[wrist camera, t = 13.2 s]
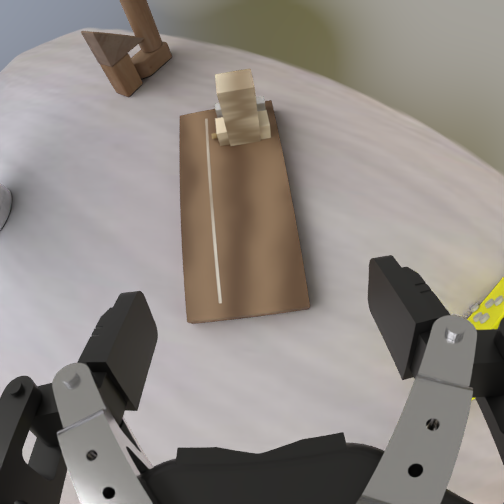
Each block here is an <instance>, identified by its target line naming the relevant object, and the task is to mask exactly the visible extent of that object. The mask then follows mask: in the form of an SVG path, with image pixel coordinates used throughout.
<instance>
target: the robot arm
mask: <svg viewBox="0 0 504 504" xmlns="http://www.w3.org/2000/svg"><path fill="white" fill-rule="evenodd" d="M11 202H12V196H11V193H10V191H9V190H8V189H7V188H6V187H5V186H3V185H2V184H0V230H1V228H2V227H3V225H4V224H5V222H6V220H7V218H8V215H9V212H10V208H11ZM368 303H369V308H370V312H371V314H372V316H373V318H374V320H375V322H376V324H377V326H378V328H379V330H380V332H381V334H382V336H383V339H384V341H385V343H386V345H387V347H388V349H389V351H390V353H391V356H392V358H393V360H394V362H395V364H396V367H397V369H398V371H399V373H400V375H401V378H402V380H404V379H408V378H412V377H414V378H415V381H414V383H413V386H412V389H411V392H410V394H409V397H408V399H407V402H406V404H405V407H404V409H403V412H402V414H401V417H400V419H399V421H398V424H397V426H396V428H395V430H394V433H393V435H392V437H391V439H390V441H389V444H388V446H387V448H386V450H385V451H383V450H381V449H379V448H376V447H373V446H369V445H364V444H358V443H346V441H345V437H344V433H343V432H342V433H337V434H332V435H326V436H321V437H315V438H308V439H302V440H299V441H297V442H294V443H291V444H288V445H285V446H282V447H280V448H277V449H274V450H271V451H267V452H264V453H260V454H255V453H247V452H241V451H235V450H229V449H223V448H218V447H210V448H178V450H177V457H176V459H172V460H169V461H166V462H163V463H161V464H159V465H156V466H153V465H152V464H151V463H150V461H149V460H148V458H147V457H146V455H145V454H144V452H143V450H142V449H141V447H140V445H139V443H138V442H137V440H136V438H135V437H134V435H133V433H132V431H131V429H130V428H129V426H128V424H127V422H126V421H125V419H124V418H123V415H124V411H125V410H130V411H137V410H138V407H139V403H140V399H141V395H142V392H143V388H144V384H145V381H146V377H147V374H148V370H149V367H150V363H151V360H152V356H153V353H154V350H155V346H156V343H157V338H158V333H157V327H156V324H155V321H154V319H153V316H152V314H151V311H150V309H149V306H148V304H147V301H146V299H145V296H144V294H143V293H142V292H141V291H135V292H127V293H121V294H120V295H119V297H118V299H117V301H116V302H115V304H114V306H113V308H110V309H109V310H108V311H107V312H106V313H105V314H104V315H102V316H101V318H100V320H99V322H98V323H97V325H96V329H94V331H93V333H92V337H90V339H89V341H88V343H87V345H86V347H85V348H84V350H83V352H82V354H81V356H80V359H79V361H78V363H73V364H70V365H67V366H65V367H64V368H62V369H61V370H60V371H59V372H58V373H57V374H56V376H55V377H54V379H53V383H50V384H46V385H41V386H36V384H35V383H34V382H33V380H32V379H31V378H30V377H28V376H20V377H17V378H15V379H14V380H12V381H11V382H10V383H9V384H8V385H7V386H6V388H5V390H4V392H3V393H2V395H1V397H0V504H59V503H60V498H61V494H62V489H63V485H64V481H65V477H66V472H67V469H68V472H69V475H70V477H71V480H72V483H73V485H74V488H75V490H76V493H77V495H78V498H79V500H80V503H81V504H473V503H471V502H469V501H467V500H466V499H464V498H462V497H460V496H458V495H457V494H455V493H453V492H451V491H450V490H448V489H446V488H447V485H448V483H449V480H450V477H451V474H452V471H453V468H454V465H455V462H456V459H457V456H458V452H459V449H460V445H461V442H462V438H463V435H464V431H465V427H466V423H467V419H468V414H469V410H470V405H471V400H472V398H476V400H477V402H478V404H479V407H480V409H481V411H482V413H483V415H484V418H485V420H486V422H487V424H488V427H489V429H490V432H491V434H492V436H493V439H494V441H495V444H496V446H497V449H498V451H499V454H500V457H501V459H502V462H503V465H504V317H503V318H502V320H501V321H500V324H499V327H498V329H488V330H476V328H475V327H474V325H473V324H472V323H471V322H470V321H468V320H467V319H465V318H463V317H460V316H455V315H450V314H449V312H448V311H447V310H446V308H445V307H444V306H443V304H442V303H441V302H440V300H439V299H438V298H437V296H436V295H435V294H434V293H433V291H431V289H430V287H429V286H428V285H427V284H425V281H424V280H423V279H422V277H421V276H420V275H419V274H418V273H417V272H415V271H413V270H412V269H410V268H408V267H403V268H402V267H401V266H400V265H399V264H398V262H397V261H396V260H395V258H394V257H393V256H392V255H389V256H383V257H377V258H372V259H371V260H370V263H369V284H368ZM29 430H30V431H31V432H32V433H33V434H34V435H35V436H36V437H37V439H36V442H35V445H34V448H33V451H32V454H31V457H30V460H29V463H28V464H27V463H26V462H25V461H24V459H23V456H22V449H23V446H24V443H25V440H26V437H27V435H28V432H29ZM503 504H504V503H503Z"/></svg>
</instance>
